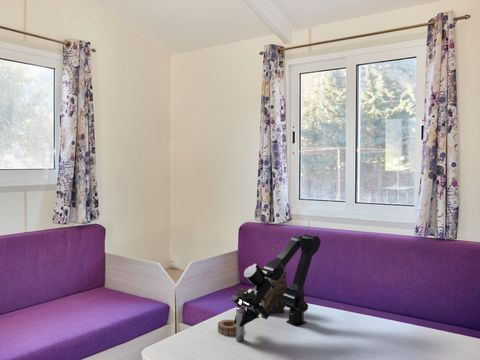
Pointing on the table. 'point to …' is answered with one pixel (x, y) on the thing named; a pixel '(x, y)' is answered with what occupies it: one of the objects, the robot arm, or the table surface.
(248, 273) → the robot arm
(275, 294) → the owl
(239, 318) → the purple capped tube
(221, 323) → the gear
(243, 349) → the table surface
